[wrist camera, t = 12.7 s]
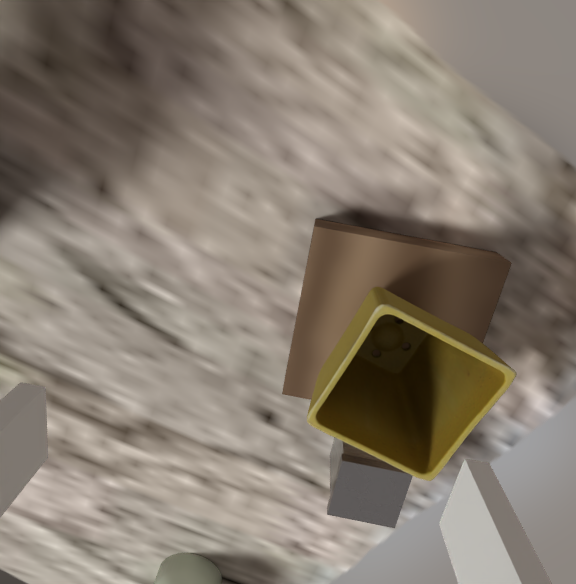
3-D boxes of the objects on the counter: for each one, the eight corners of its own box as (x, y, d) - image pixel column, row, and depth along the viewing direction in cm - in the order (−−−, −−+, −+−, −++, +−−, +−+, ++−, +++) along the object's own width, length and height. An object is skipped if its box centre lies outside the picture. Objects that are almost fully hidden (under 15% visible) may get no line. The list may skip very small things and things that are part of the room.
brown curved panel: (285, 375, 39) (282, 393, 36) (315, 218, 34) (314, 226, 31) (445, 405, 39) (454, 427, 36) (498, 252, 34) (514, 263, 31)
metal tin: (327, 455, 41) (327, 514, 35) (339, 407, 40) (341, 460, 33) (384, 467, 41) (394, 528, 35) (399, 419, 39) (412, 474, 33)
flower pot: (367, 256, 32) (381, 301, 23) (471, 312, 32) (522, 375, 24) (308, 352, 35) (303, 423, 26) (405, 401, 35) (430, 485, 27)
